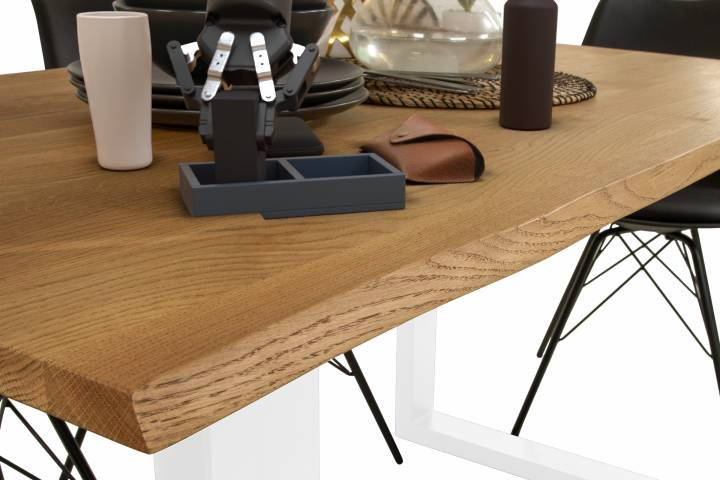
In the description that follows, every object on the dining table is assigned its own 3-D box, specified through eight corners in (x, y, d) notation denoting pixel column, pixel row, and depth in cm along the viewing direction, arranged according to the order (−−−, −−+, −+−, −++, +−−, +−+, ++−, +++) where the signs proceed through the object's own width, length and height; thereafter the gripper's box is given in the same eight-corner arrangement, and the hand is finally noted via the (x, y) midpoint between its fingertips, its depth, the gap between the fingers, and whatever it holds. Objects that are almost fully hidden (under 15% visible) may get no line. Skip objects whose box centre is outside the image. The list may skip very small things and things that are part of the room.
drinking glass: (80, 172, 100) (64, 15, 95) (105, 158, 106) (90, 10, 101) (148, 174, 100) (135, 17, 95) (168, 159, 106) (157, 12, 101)
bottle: (555, 123, 132) (564, -38, 125) (547, 132, 126) (556, -37, 119) (504, 119, 133) (511, -40, 127) (493, 128, 127) (500, -38, 120)
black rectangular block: (217, 203, 87) (210, 98, 84) (227, 189, 91) (221, 89, 88) (259, 204, 87) (254, 99, 84) (267, 190, 91) (262, 90, 88)
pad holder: (405, 208, 90) (405, 174, 89) (194, 224, 83) (192, 187, 82) (374, 184, 98) (374, 152, 97) (180, 196, 92) (178, 163, 91)
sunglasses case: (352, 145, 113) (381, 92, 112) (402, 173, 116) (431, 122, 115) (406, 181, 97) (440, 120, 96) (463, 212, 101) (496, 154, 100)
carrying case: (214, 142, 115) (223, 171, 102) (212, 115, 114) (221, 141, 101) (307, 139, 118) (327, 167, 105) (306, 113, 117) (327, 138, 104)
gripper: (164, -43, 89) (141, 119, 82) (325, -40, 89) (316, 121, 82) (182, 14, 96) (161, 168, 89) (331, 17, 96) (323, 171, 89)
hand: (236, 145), depth 85 cm, fingers closed on black rectangular block, 3 cm apart
